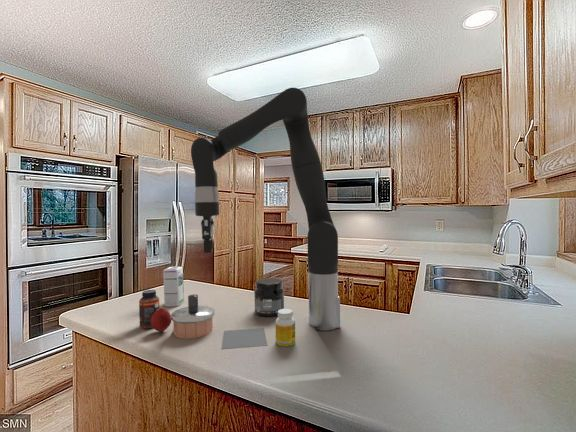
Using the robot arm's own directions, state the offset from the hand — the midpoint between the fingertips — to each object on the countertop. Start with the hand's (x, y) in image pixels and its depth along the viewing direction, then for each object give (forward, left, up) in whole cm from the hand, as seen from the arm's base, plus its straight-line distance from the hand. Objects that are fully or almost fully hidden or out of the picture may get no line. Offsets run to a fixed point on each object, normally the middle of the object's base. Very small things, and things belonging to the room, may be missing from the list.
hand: (208, 250), depth 100 cm
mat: (-11, +16, -24) cm, 31 cm away
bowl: (+4, +8, -24) cm, 25 cm away
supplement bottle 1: (+19, -1, -24) cm, 31 cm away
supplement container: (-20, -4, -24) cm, 32 cm away
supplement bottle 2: (-22, +21, -24) cm, 39 cm away
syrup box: (+16, -23, -24) cm, 37 cm away
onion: (+14, +5, -24) cm, 28 cm away
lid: (+4, +8, -18) cm, 20 cm away
